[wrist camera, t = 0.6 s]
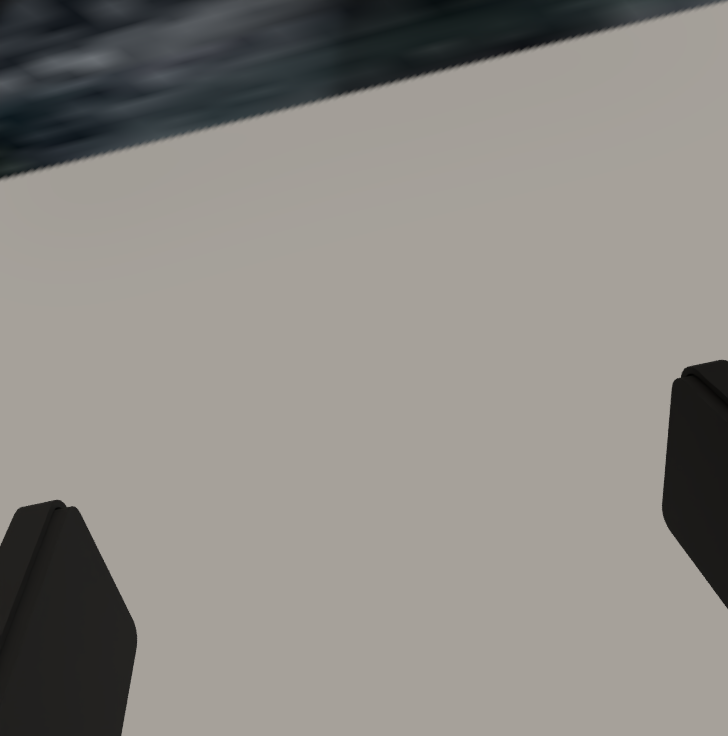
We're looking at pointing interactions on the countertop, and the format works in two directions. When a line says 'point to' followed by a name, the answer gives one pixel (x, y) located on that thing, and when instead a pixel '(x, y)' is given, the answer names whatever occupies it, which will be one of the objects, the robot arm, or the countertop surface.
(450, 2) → the countertop surface
